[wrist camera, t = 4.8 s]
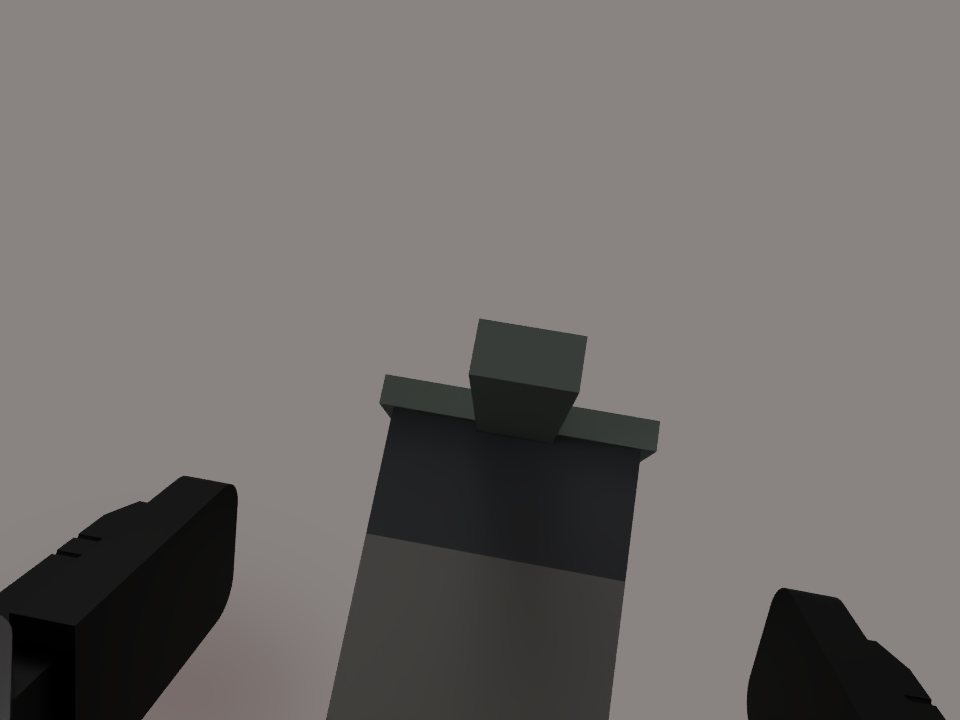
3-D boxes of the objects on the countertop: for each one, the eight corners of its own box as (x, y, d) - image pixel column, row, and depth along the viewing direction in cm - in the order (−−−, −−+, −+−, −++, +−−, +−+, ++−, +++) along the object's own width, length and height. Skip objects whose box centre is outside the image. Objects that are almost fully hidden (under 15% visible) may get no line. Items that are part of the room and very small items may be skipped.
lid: (730, 418, 19) (735, 361, 19) (324, 349, 19) (338, 295, 20) (610, 487, 38) (614, 458, 38) (409, 451, 39) (415, 423, 39)
